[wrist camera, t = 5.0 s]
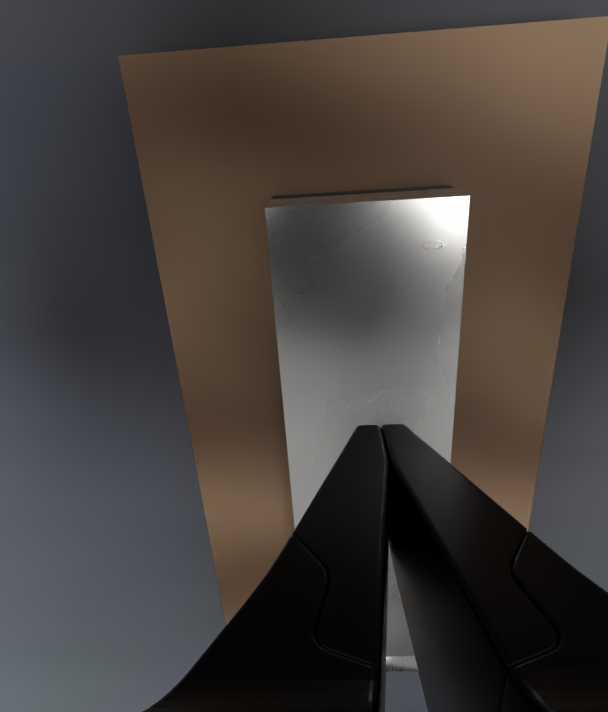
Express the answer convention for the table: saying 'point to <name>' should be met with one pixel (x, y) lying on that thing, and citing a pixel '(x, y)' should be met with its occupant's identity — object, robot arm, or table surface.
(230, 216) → the walnut board
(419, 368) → the bar
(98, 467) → the table surface
